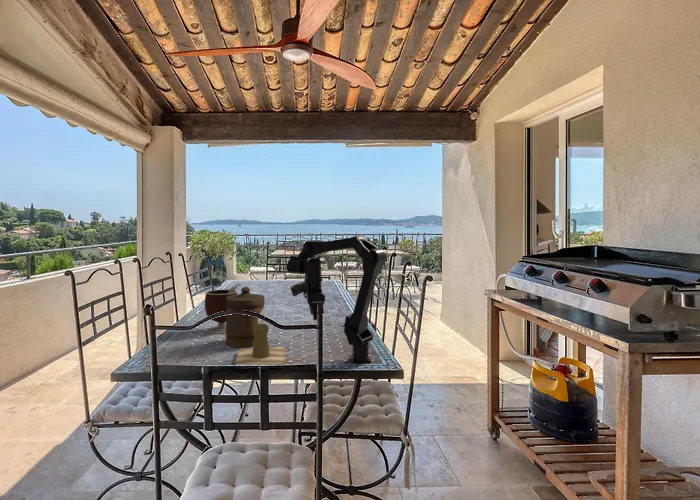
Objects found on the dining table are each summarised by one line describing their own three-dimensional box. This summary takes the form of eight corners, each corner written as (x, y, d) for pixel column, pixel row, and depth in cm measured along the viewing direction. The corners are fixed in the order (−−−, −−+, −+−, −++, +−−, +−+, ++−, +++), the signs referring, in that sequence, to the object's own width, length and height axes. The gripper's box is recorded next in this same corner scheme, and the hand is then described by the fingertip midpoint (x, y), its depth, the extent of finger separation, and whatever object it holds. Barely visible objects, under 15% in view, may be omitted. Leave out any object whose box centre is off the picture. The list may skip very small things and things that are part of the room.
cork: (260, 359, 139) (260, 327, 139) (248, 356, 143) (247, 324, 142) (273, 355, 144) (273, 323, 144) (260, 351, 148) (260, 321, 147)
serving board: (284, 367, 136) (284, 363, 136) (234, 370, 134) (234, 365, 133) (284, 351, 154) (284, 347, 154) (239, 352, 151) (239, 348, 151)
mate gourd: (212, 336, 173) (211, 288, 172) (200, 329, 184) (199, 284, 182) (246, 330, 183) (246, 285, 181) (233, 324, 193) (233, 281, 192)
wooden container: (269, 344, 163) (269, 288, 161) (231, 349, 155) (231, 291, 154) (257, 335, 175) (257, 283, 174) (221, 340, 168) (221, 285, 166)
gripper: (289, 272, 160) (290, 313, 161) (292, 278, 142) (293, 324, 143) (318, 272, 162) (319, 311, 163) (325, 277, 144) (325, 322, 145)
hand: (313, 317), depth 153 cm, fingers open, 9 cm apart
